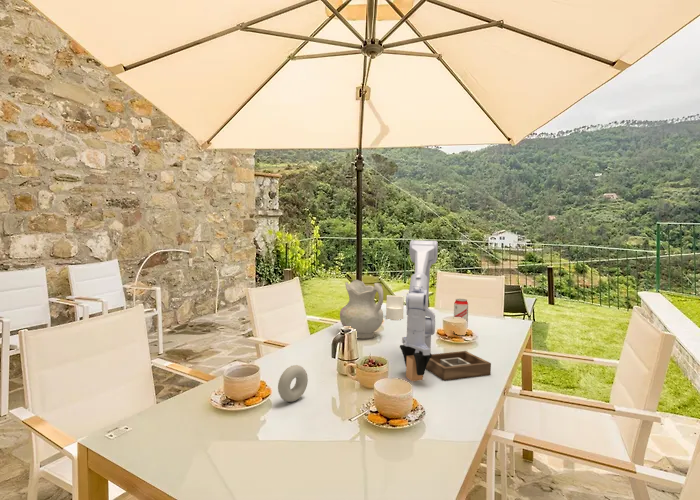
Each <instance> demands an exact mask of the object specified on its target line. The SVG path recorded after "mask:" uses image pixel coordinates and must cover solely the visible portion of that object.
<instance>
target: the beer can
mask: <svg viewBox="0 0 700 500" xmlns="http://www.w3.org/2000/svg"><path fill="white" fill-rule="evenodd" d="M454 317H461V318H464V319H466V321H467V327H468V326H469V325H468V322H469V318H468V317H469V302H468V299H465V298H455V301H454V304H453V318H454Z"/></svg>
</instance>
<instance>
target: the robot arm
mask: <svg viewBox="0 0 700 500" xmlns="http://www.w3.org/2000/svg"><path fill="white" fill-rule="evenodd" d="M438 244H439V243H438V241H437V240H420V239H418V240H416V239H415V240H414V239H411V240H410V241H409V248H408V249H409V257H410V260H411V262H412V263H414V273H413V274H412V275H411V276H410V283H409V288H408V289H409V290H408V292H407V293H406V296H405V308H406V315H407V317H406V318H407V320H406V321H407V322H406V336H402V340H401V343H402V344H401V345H399V349H400V351H401V352H402V355H403V361H404V365H405V366H406V361H407V356H410V355H414V358H415V361H416V370H417V375H423V376H424V375H425V373H426V370H427V369H426V366H427V363H428V361H429V360H430V358H431V357H432V353H431V352H432V351H431V348H432V336H434V334H435V333H436V315H435V312H433V311H432V310H431V309H430V308H429V297H430V296H429V292H430V271H431V267H432V265H433V264H436V263H437V260H438V253H439V252H438V250H439V245H438Z"/></svg>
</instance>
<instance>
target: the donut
mask: <svg viewBox="0 0 700 500" xmlns="http://www.w3.org/2000/svg"><path fill="white" fill-rule="evenodd" d="M294 379H295V383H294V386H292V388H291V384H292V382H293V380H294ZM308 380H309V379H308V373H307V370H306V369H304V367H303V366H301V365H298V364H294V365H290V366H289V367H287V368H285V370H284V371H283V372H282V373H281V375H280V377H279V380H278V382H277V383H278V384H277V392H278V394H279V396H280V398H281V399H282V401H284V402H289V403H292V402H296V401H298V400H299V399H300V398H301V397H302V396H303V395H304V393H305V392H306V389H307V387H308V383H309V381H308Z"/></svg>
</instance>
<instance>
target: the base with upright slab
mask: <svg viewBox="0 0 700 500" xmlns="http://www.w3.org/2000/svg"><path fill="white" fill-rule="evenodd" d="M404 297H405V296H404V295H392V294H390V295H389V294H387V295H386V303H385V304H386V308H385V309H386V310H385V312H386V313H385V318H387V319H386V320H388V319H391V320H390V321H400V320H399V319H403V320H404V305H405V303H404V301H405V300H404V299H405V298H404Z"/></svg>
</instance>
